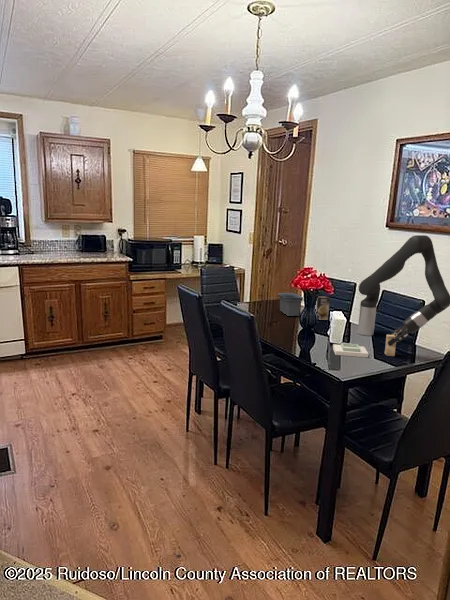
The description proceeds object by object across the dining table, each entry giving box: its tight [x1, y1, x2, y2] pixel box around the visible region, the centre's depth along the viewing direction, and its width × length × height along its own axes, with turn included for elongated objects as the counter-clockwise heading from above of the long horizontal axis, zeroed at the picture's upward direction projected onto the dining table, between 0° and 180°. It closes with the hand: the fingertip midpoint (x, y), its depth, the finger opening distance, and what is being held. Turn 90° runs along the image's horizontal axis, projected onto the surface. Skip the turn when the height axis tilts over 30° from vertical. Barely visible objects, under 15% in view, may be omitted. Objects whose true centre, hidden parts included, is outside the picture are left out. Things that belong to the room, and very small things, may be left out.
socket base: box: [332, 342, 369, 358], centre depth 218 cm, size 12×16×4 cm
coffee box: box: [315, 295, 331, 320], centre depth 287 cm, size 9×6×16 cm
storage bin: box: [277, 292, 304, 317], centre depth 300 cm, size 21×16×14 cm
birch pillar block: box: [384, 334, 397, 357], centre depth 216 cm, size 4×4×10 cm
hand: (387, 343), depth 216 cm, fingers closed on birch pillar block, 4 cm apart
